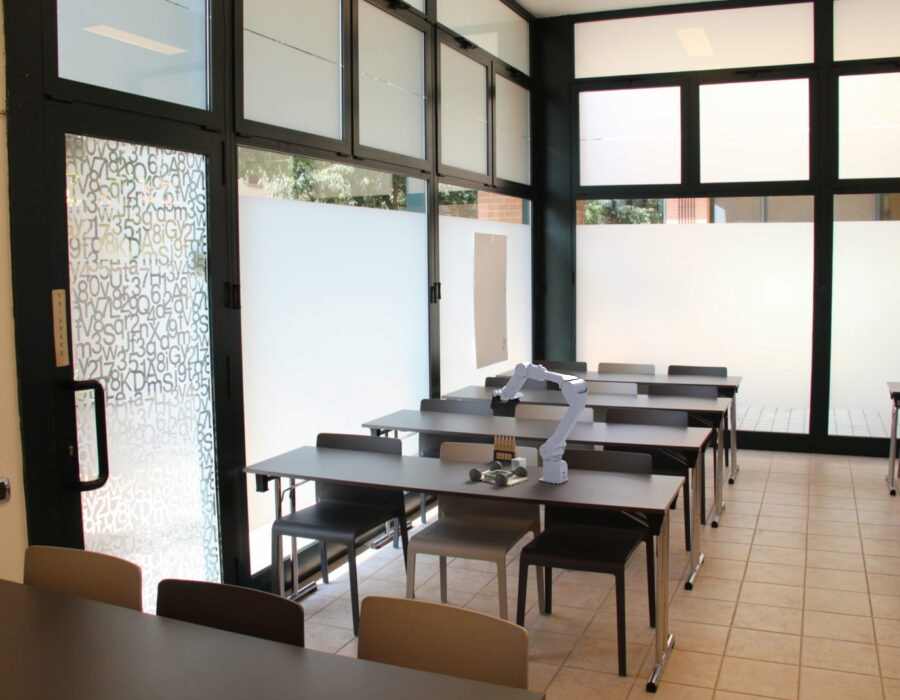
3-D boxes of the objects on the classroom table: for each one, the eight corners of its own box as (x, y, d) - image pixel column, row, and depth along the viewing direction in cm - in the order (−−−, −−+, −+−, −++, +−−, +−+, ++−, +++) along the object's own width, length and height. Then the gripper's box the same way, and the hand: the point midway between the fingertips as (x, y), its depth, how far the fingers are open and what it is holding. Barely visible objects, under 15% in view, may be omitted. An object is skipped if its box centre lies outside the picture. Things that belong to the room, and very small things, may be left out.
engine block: (526, 470, 362) (526, 458, 362) (519, 472, 358) (519, 460, 358) (518, 468, 365) (518, 457, 364) (511, 471, 361) (511, 459, 360)
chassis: (530, 479, 347) (530, 467, 346) (506, 487, 335) (506, 475, 334) (491, 471, 360) (490, 460, 359) (467, 479, 348) (467, 467, 347)
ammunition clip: (516, 462, 376) (516, 435, 374) (515, 463, 374) (514, 436, 373) (495, 459, 381) (494, 433, 379) (493, 460, 379) (492, 434, 378)
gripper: (523, 380, 361) (508, 403, 367) (496, 377, 353) (481, 400, 359) (530, 392, 356) (515, 414, 363) (503, 389, 348) (487, 412, 355)
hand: (498, 408), depth 361 cm, fingers open, 7 cm apart
